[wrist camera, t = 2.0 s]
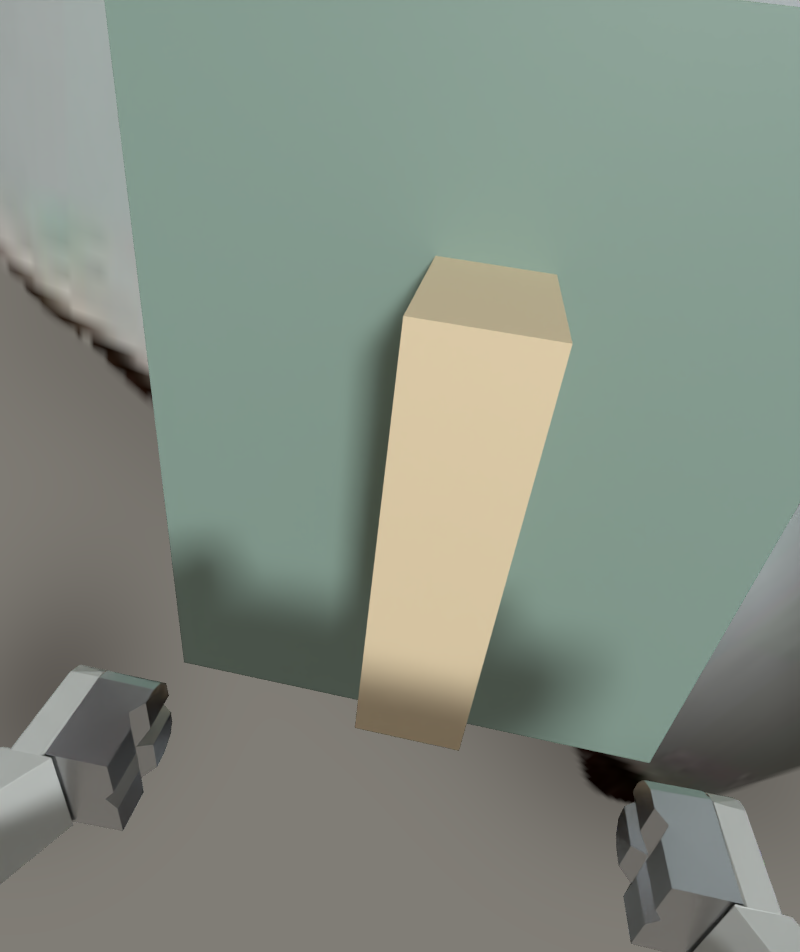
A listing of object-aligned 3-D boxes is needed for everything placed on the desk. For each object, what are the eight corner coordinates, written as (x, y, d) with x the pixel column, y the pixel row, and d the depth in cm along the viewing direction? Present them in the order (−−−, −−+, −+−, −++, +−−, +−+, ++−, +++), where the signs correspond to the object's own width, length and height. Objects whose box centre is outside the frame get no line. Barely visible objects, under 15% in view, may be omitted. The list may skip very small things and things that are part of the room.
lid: (1012, 45, 12) (1401, 1, 7) (642, 729, 25) (677, 906, 19) (133, -60, 14) (-116, -164, 8) (200, 635, 26) (117, 775, 21)
